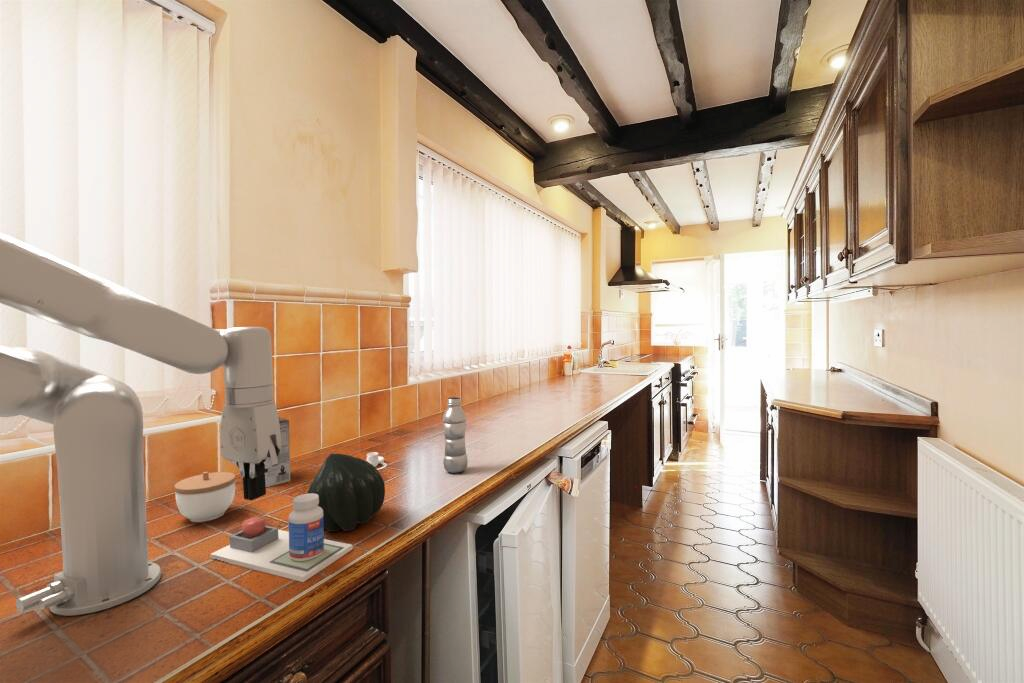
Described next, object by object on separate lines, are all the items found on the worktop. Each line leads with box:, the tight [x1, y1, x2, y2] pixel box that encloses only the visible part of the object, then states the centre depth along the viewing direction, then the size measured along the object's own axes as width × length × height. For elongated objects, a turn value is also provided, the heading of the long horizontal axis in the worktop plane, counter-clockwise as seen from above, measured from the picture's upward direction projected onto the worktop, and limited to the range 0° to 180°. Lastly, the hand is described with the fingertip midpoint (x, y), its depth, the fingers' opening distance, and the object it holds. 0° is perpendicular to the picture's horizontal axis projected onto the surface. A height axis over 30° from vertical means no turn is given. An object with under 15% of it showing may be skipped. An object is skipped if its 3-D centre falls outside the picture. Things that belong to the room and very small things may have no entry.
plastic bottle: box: [442, 396, 469, 474], centre depth 122 cm, size 6×7×20 cm
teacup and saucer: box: [365, 451, 388, 471], centre depth 129 cm, size 9×8×4 cm
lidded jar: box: [173, 471, 237, 523], centre depth 96 cm, size 11×11×9 cm
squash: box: [306, 452, 386, 532], centre depth 91 cm, size 14×15×15 cm
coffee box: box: [257, 416, 291, 488], centre depth 117 cm, size 9×6×16 cm
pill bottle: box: [288, 493, 325, 561], centre depth 77 cm, size 6×5×10 cm
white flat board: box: [210, 525, 354, 583], centre depth 79 cm, size 11×21×3 cm, turn 68°
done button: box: [241, 516, 267, 537], centre depth 81 cm, size 4×4×2 cm
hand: (255, 496), depth 82 cm, fingers closed
